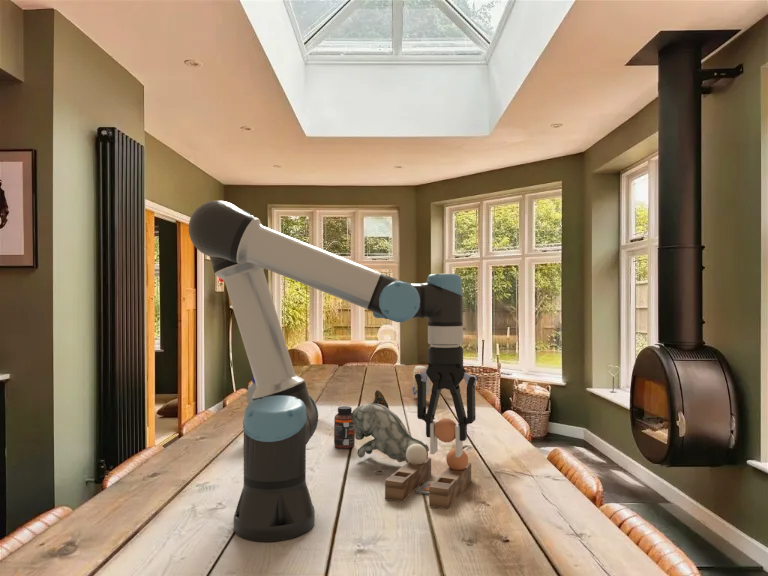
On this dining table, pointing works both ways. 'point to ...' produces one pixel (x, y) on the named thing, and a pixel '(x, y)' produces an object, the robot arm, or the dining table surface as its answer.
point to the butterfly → (380, 399)
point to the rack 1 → (406, 480)
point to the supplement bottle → (344, 428)
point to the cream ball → (416, 454)
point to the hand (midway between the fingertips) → (446, 453)
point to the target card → (424, 488)
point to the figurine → (382, 431)
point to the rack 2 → (448, 487)
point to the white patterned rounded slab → (416, 370)
